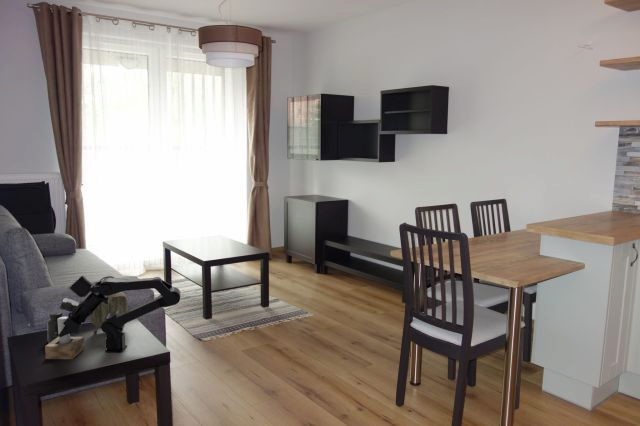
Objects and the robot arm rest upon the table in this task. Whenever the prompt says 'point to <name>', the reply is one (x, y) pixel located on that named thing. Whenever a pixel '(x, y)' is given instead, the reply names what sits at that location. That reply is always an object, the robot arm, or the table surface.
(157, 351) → the table surface
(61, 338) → the peg
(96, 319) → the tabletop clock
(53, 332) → the supplement bottle
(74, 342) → the socket block
